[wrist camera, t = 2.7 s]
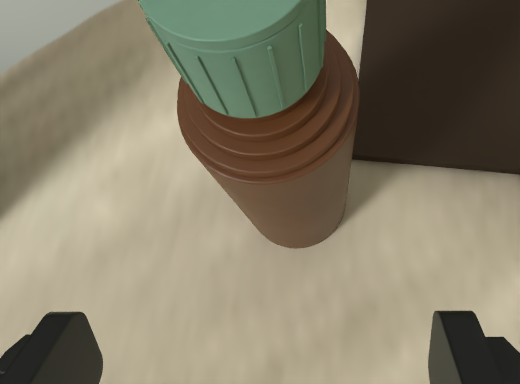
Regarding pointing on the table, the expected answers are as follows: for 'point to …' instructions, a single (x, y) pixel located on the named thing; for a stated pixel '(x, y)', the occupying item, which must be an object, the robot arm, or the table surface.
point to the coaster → (441, 84)
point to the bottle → (284, 153)
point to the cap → (242, 50)
